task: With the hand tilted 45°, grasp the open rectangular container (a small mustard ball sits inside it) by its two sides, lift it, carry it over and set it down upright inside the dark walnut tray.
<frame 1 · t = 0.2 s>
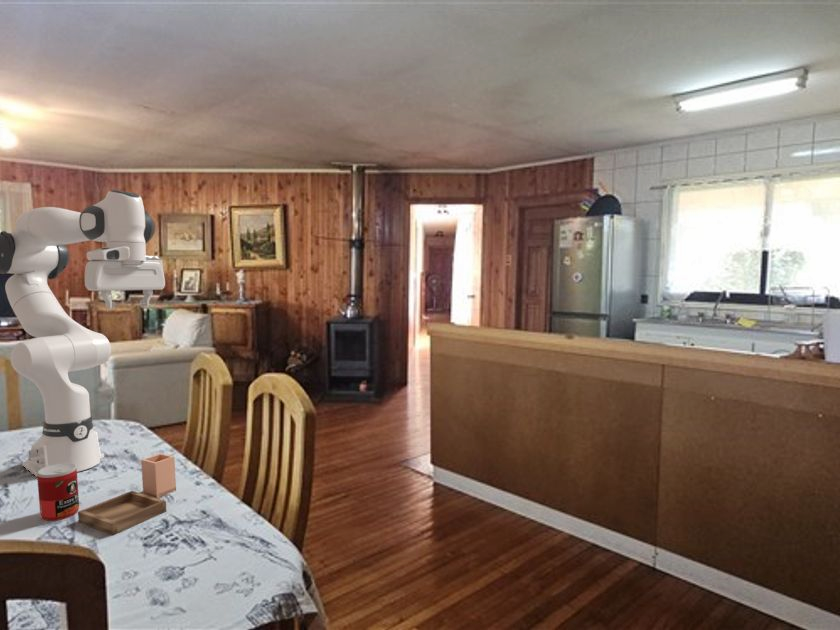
hand: (128, 308, 139), 48 cm above the table, tool pointing down, fingers open, 8 cm apart
ball: (159, 483, 139), point 2 cm above the table, touching open rectangular container
open rectangular container: (159, 492, 139), on the table, touching ball
tray: (123, 516, 126), on the table
canned food: (60, 514, 127), on the table
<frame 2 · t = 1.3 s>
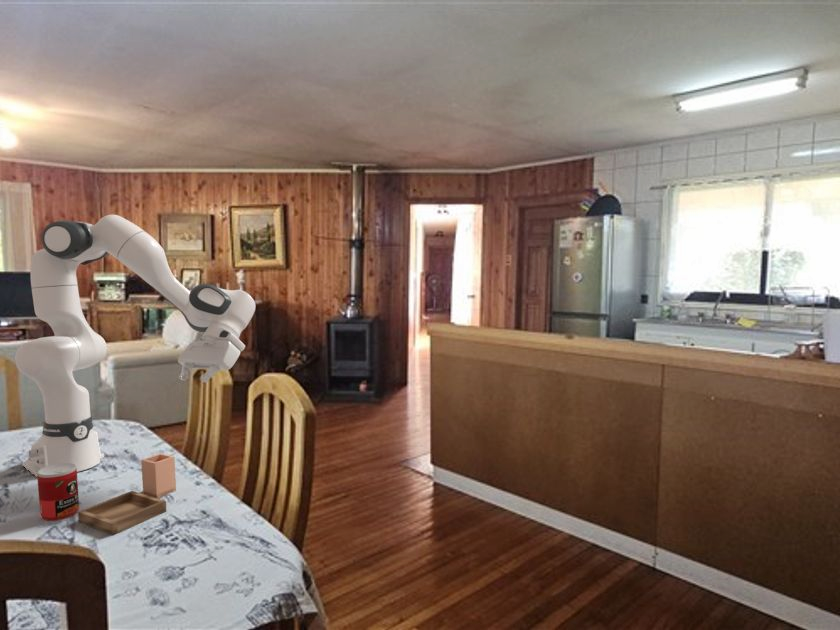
hand: (192, 380, 147), 27 cm above the table, tool tilted 45°, fingers open, 8 cm apart
nothing on the table moved.
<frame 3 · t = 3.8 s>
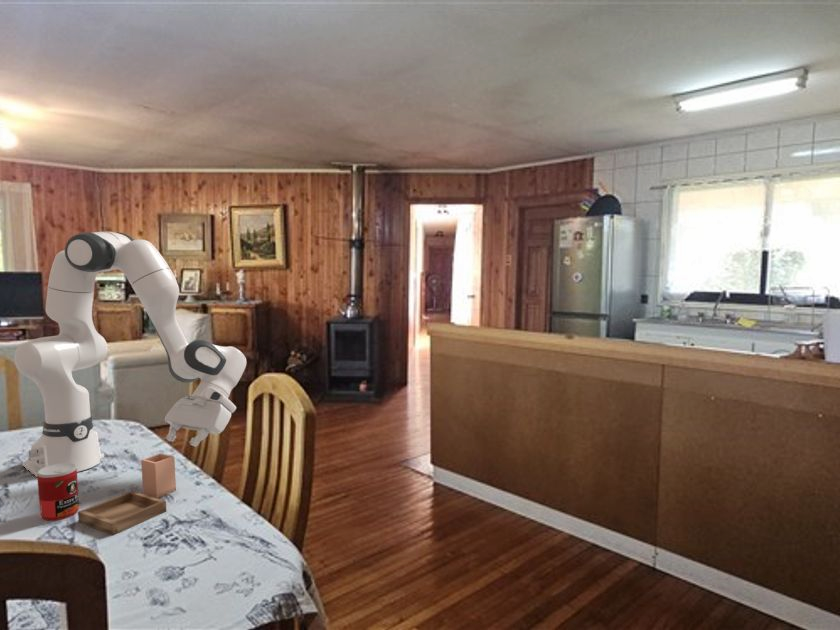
hand: (180, 442, 144), 11 cm above the table, tool tilted 45°, fingers open, 8 cm apart
nothing on the table moved.
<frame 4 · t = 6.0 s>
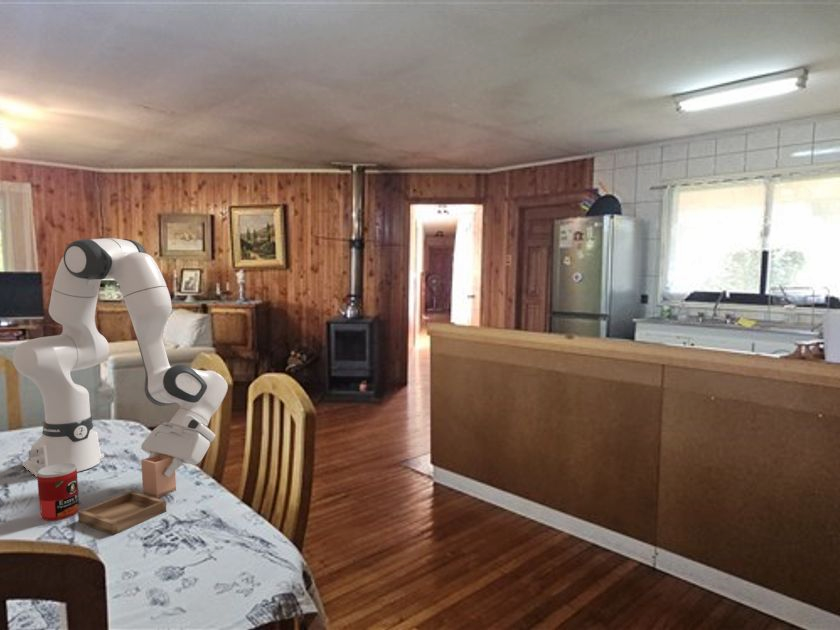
hand: (156, 473, 138), 5 cm above the table, tool tilted 45°, fingers closed on open rectangular container, 5 cm apart
open rectangular container: (159, 492, 139), on the table, touching ball, gripper
everything else where it was.
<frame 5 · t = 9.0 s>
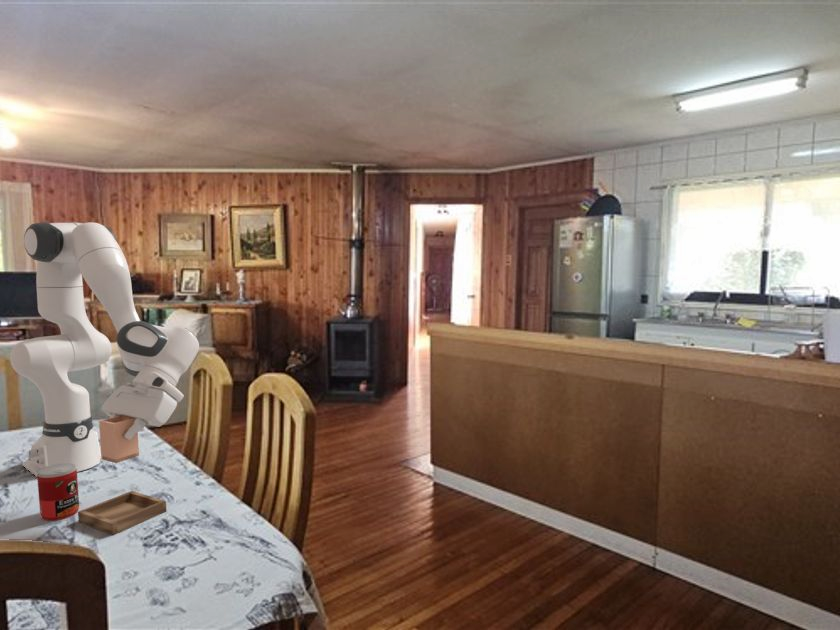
hand: (116, 436, 123), 19 cm above the table, tool tilted 45°, fingers closed on open rectangular container, 5 cm apart
ball: (121, 448, 124), point 16 cm above the table, tilted 25°, touching open rectangular container
open rectangular container: (120, 457, 124), point 14 cm above the table, touching ball, gripper
everything else where it was.
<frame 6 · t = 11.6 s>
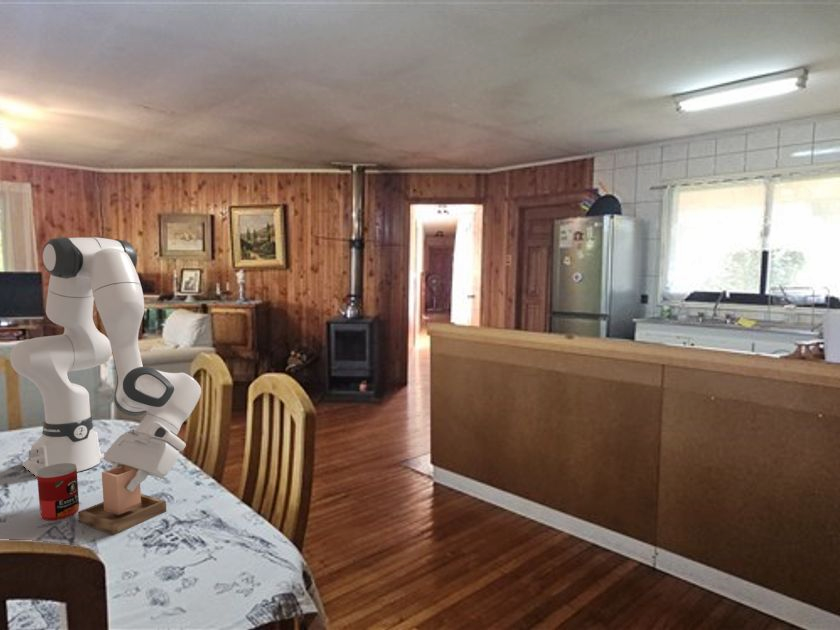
hand: (118, 487, 124), 7 cm above the table, tool tilted 45°, fingers closed on open rectangular container, 5 cm apart
ball: (117, 498, 125), point 4 cm above the table, tilted 31°, touching open rectangular container
open rectangular container: (122, 507, 125), point 2 cm above the table, touching ball, gripper
everything else where it was.
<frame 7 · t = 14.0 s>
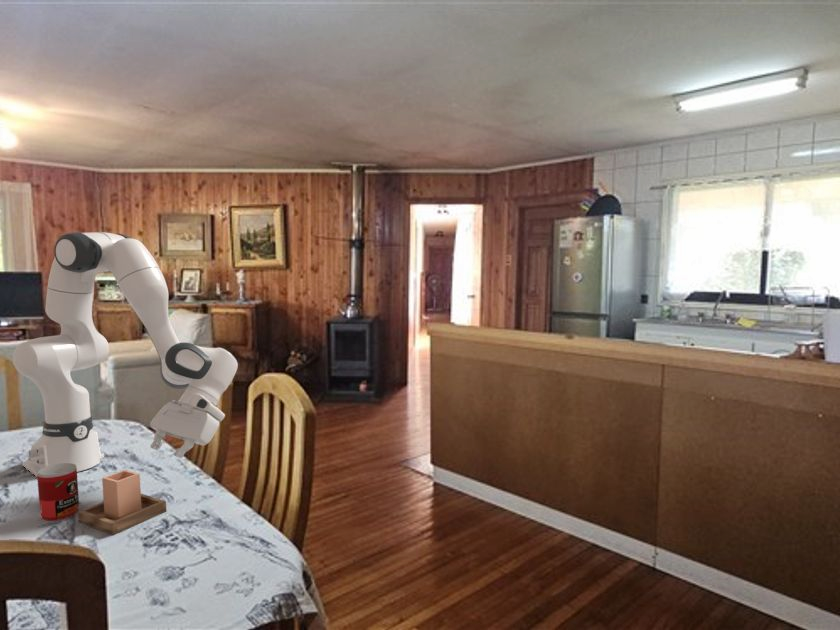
hand: (165, 452, 135), 11 cm above the table, tool tilted 40°, fingers open, 8 cm apart
ball: (120, 504, 125), point 3 cm above the table, tilted 22°, touching open rectangular container
open rectangular container: (123, 513, 126), point 1 cm above the table, touching ball, tray
everything else where it was.
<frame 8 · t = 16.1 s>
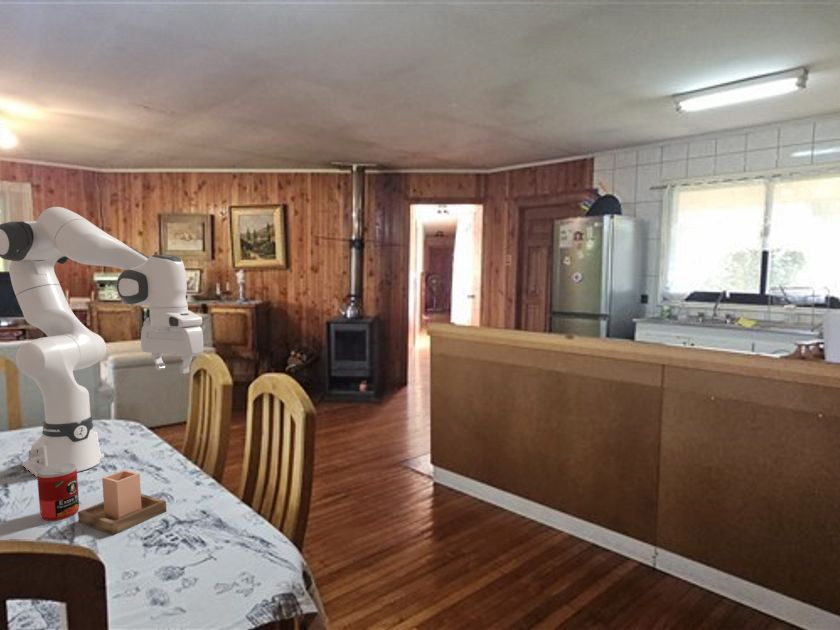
hand: (172, 371, 139), 31 cm above the table, tool pointing down, fingers open, 8 cm apart
ball: (121, 505, 125), point 3 cm above the table, tilted 30°, touching open rectangular container
everything else where it was.
at the end: open rectangular container inside the target area on the tray (0.1 cm from its centre), point 0.8 cm above the tray's base; open rectangular container tilted 0°; the gripper is holding nothing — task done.
